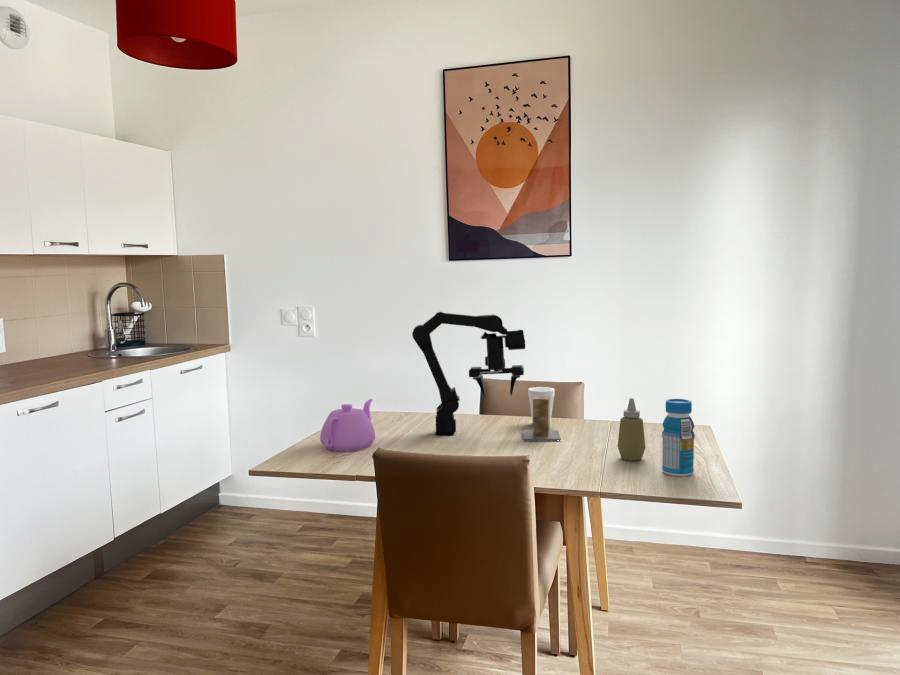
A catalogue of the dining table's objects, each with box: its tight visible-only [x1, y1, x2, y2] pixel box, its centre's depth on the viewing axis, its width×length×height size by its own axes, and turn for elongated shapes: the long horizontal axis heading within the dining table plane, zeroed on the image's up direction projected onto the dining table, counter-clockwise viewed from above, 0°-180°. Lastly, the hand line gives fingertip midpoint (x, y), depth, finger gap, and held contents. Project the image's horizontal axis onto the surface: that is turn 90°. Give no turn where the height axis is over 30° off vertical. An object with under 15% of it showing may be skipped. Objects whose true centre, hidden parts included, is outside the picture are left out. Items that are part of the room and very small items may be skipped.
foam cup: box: [527, 386, 556, 424], centre depth 250 cm, size 10×9×13 cm
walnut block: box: [532, 396, 551, 436], centre depth 232 cm, size 5×5×12 cm
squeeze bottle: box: [617, 397, 646, 462], centre depth 203 cm, size 8×8×18 cm
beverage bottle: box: [661, 398, 696, 477], centre depth 188 cm, size 8×8×20 cm
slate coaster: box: [522, 429, 562, 442], centre depth 232 cm, size 12×12×1 cm
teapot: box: [319, 398, 376, 452], centre depth 226 cm, size 25×18×14 cm
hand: (497, 395), depth 239 cm, fingers open, 9 cm apart
